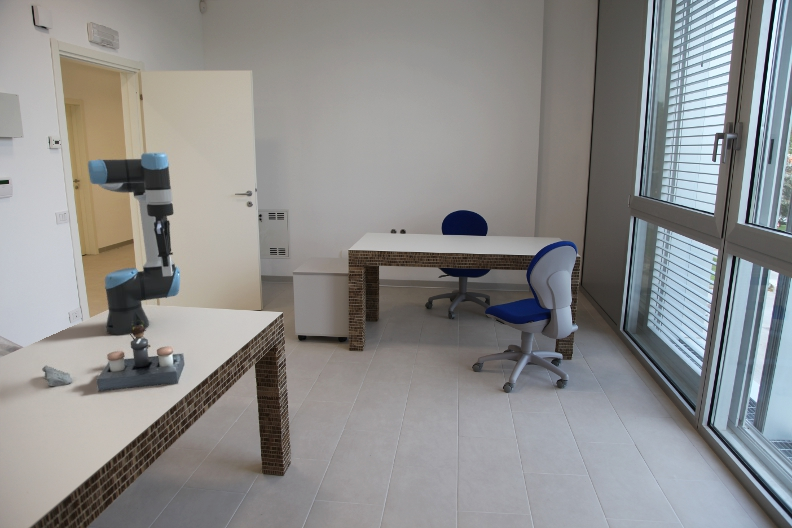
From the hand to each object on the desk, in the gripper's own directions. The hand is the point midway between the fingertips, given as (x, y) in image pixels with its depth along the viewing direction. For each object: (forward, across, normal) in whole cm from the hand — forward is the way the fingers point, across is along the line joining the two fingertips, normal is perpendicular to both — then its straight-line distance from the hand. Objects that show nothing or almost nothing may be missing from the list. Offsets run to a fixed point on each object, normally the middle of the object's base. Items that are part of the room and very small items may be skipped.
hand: (167, 275), depth 170 cm
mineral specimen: (+30, +8, -34) cm, 46 cm away
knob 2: (+29, +12, -1) cm, 31 cm away
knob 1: (+29, +12, -15) cm, 35 cm away
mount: (+29, +12, -8) cm, 33 cm away
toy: (+30, -2, -11) cm, 32 cm away
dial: (+25, +12, -8) cm, 29 cm away
